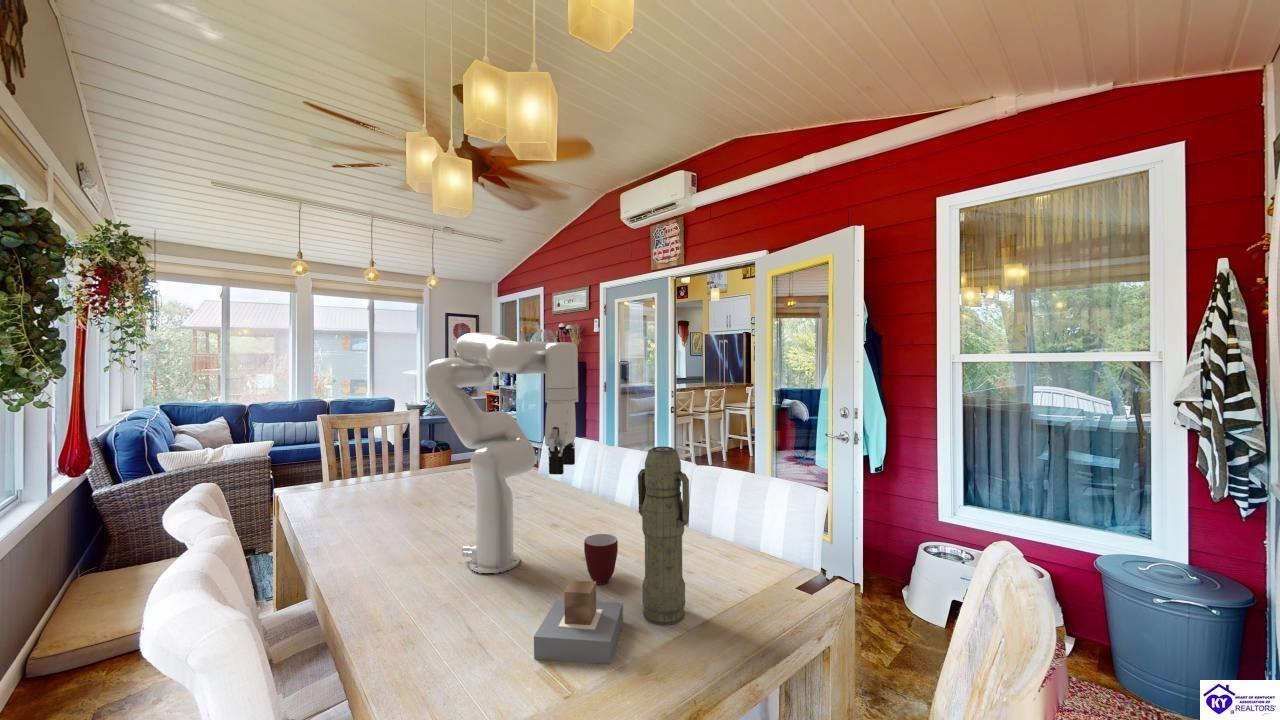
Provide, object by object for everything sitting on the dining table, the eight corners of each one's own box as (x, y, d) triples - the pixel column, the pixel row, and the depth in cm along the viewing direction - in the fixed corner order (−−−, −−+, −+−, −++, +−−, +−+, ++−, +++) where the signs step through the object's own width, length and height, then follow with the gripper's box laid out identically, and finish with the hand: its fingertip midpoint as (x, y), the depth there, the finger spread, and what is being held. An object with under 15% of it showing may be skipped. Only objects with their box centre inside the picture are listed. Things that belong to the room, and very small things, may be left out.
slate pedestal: (534, 658, 90) (533, 635, 90) (556, 617, 104) (556, 597, 104) (610, 664, 88) (610, 640, 88) (623, 622, 102) (622, 601, 102)
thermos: (648, 598, 112) (647, 443, 111) (697, 611, 106) (696, 447, 106) (628, 617, 104) (627, 449, 104) (680, 631, 98) (679, 454, 98)
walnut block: (564, 623, 94) (564, 591, 94) (571, 610, 99) (571, 579, 99) (590, 625, 93) (590, 593, 93) (596, 611, 98) (596, 581, 98)
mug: (597, 567, 128) (597, 528, 128) (626, 572, 126) (626, 532, 125) (578, 585, 118) (578, 543, 118) (610, 590, 116) (609, 547, 116)
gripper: (557, 392, 125) (557, 460, 125) (533, 398, 107) (534, 477, 108) (586, 392, 124) (587, 461, 124) (567, 398, 106) (568, 478, 107)
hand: (562, 469), depth 116 cm, fingers open, 9 cm apart
